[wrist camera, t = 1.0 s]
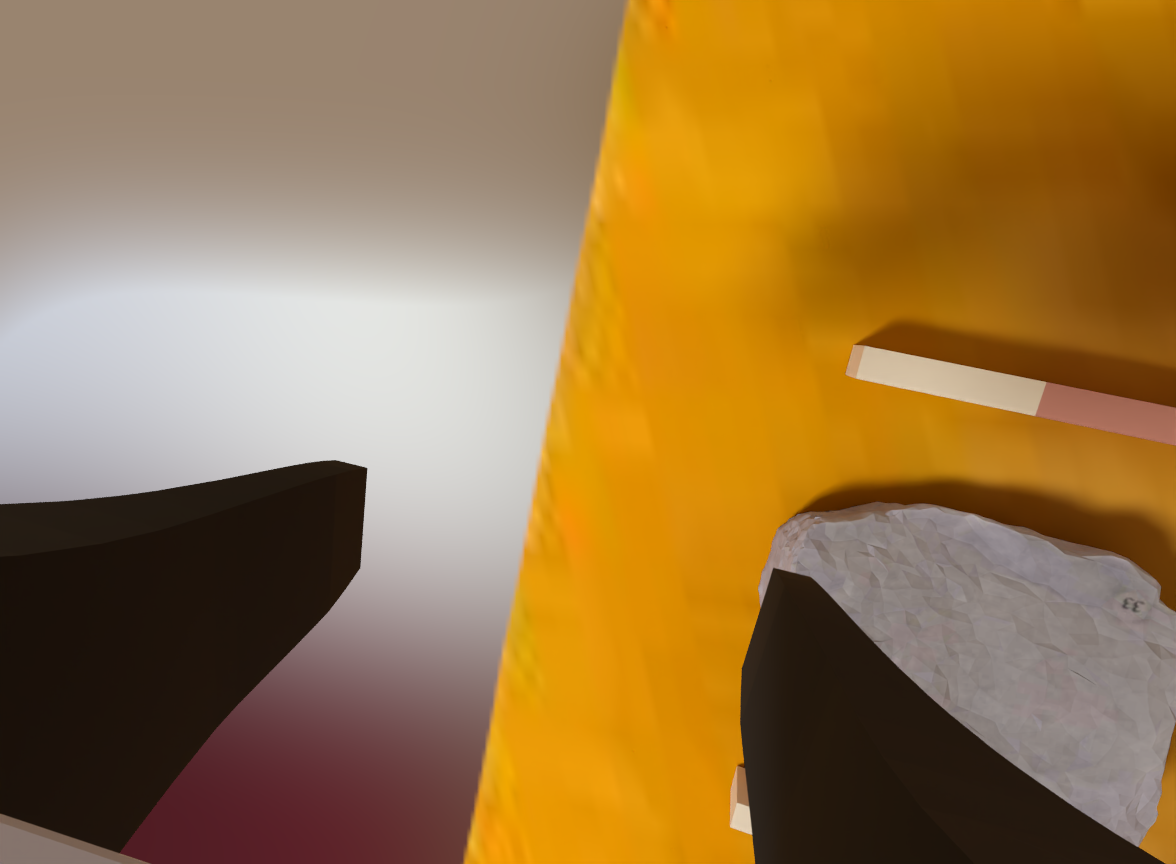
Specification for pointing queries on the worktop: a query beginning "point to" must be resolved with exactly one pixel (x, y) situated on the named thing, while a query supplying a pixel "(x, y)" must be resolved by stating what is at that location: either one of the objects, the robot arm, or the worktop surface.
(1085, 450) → the worktop surface
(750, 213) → the worktop surface
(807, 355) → the worktop surface
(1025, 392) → the trap lane
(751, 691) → the robot arm
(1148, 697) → the stone block
